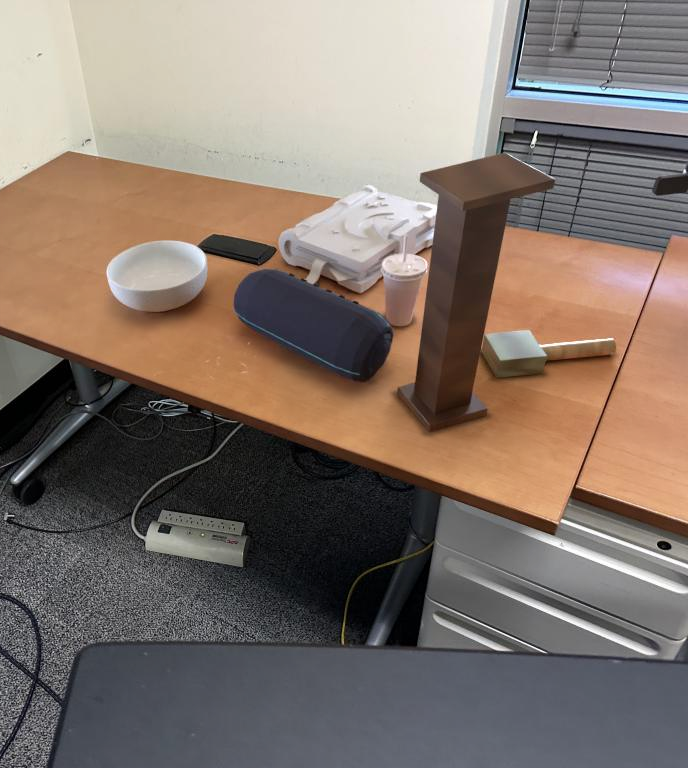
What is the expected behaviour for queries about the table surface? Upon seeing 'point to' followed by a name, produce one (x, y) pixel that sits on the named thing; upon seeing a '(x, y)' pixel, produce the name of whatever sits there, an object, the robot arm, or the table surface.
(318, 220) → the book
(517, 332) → the green wooden mallet
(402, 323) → the smoothie
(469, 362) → the stand
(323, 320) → the portable speaker
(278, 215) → the table surface
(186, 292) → the cereal bowl
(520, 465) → the table surface
